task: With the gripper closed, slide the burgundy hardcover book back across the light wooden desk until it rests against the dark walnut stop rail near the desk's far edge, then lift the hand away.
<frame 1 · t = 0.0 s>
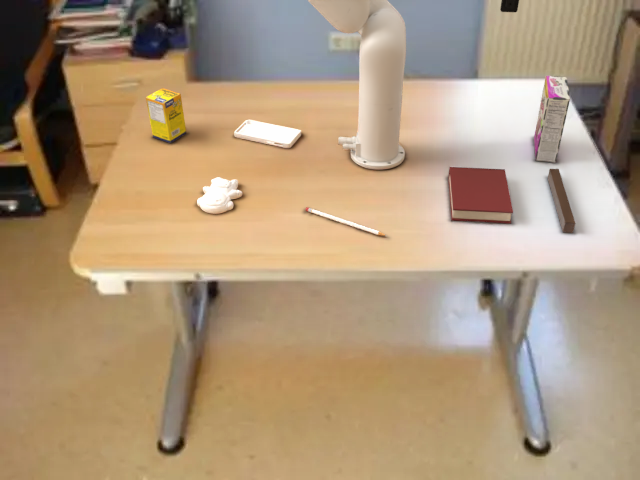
hand: (505, 2, 141), 37 cm above the table, tool pointing down, fingers open, 9 cm apart
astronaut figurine: (220, 198, 152), on the table
phone case: (267, 136, 173), on the table
book: (478, 199, 151), on the table
candy bar box: (543, 151, 167), on the table
pencil: (345, 224, 145), on the table
supplement box: (169, 136, 174), on the table
stop rail: (559, 204, 150), on the table
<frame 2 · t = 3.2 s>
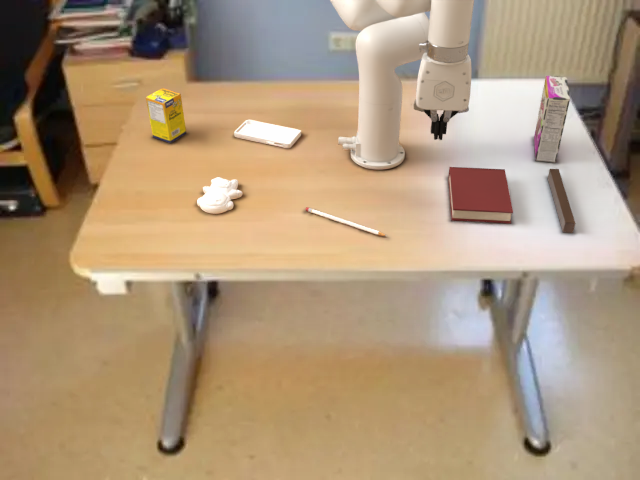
hand: (437, 136, 143), 15 cm above the table, tool pointing down, fingers closed
nothing on the table moved.
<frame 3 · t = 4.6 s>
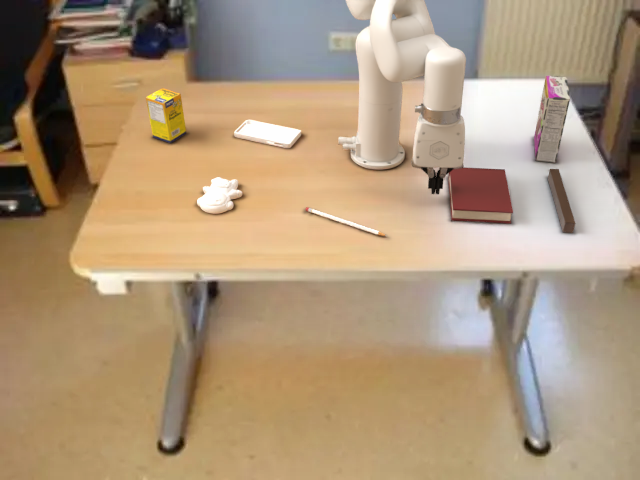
hand: (435, 190, 150), 2 cm above the table, tool pointing down, fingers closed
nothing on the table moved.
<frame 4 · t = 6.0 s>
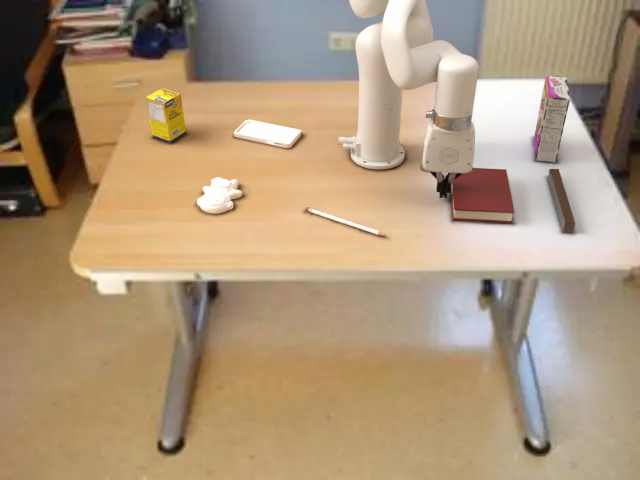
hand: (443, 194, 151), 1 cm above the table, tool pointing down, fingers closed
book: (479, 199, 151), on the table, touching gripper
everything else where it was.
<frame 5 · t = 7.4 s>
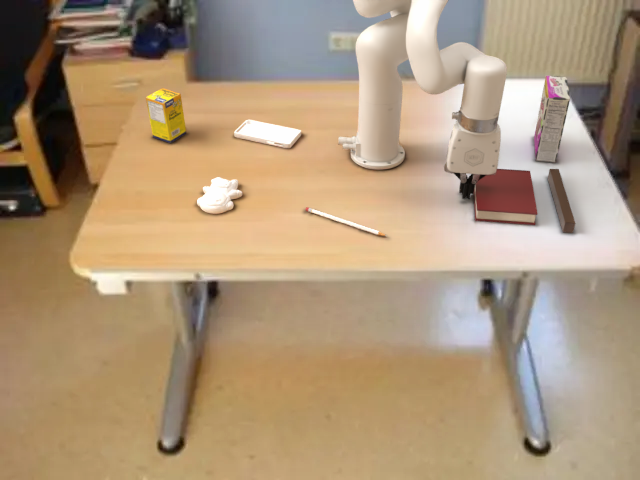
hand: (465, 195, 151), 1 cm above the table, tool pointing down, fingers closed
book: (502, 200, 151), on the table, touching gripper
everything else where it was.
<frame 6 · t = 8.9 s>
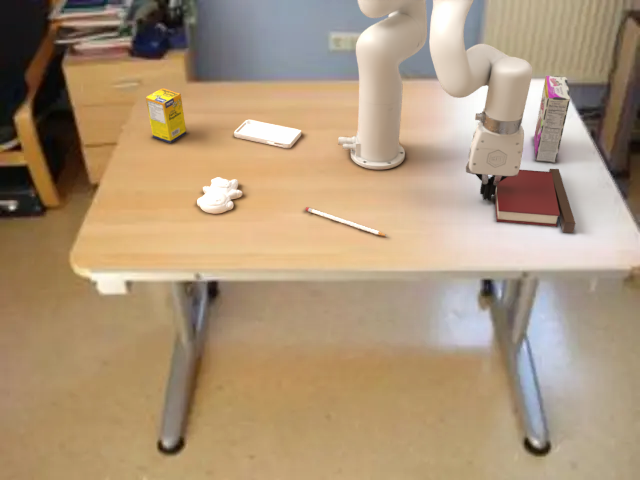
hand: (486, 196, 151), 1 cm above the table, tool pointing down, fingers closed
book: (523, 201, 150), on the table, touching gripper, stop rail
everything else where it was.
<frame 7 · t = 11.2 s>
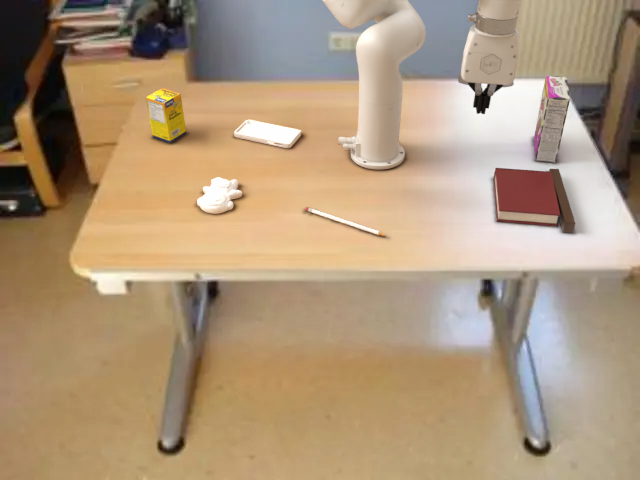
hand: (480, 110, 142), 19 cm above the table, tool pointing down, fingers closed
book: (523, 201, 150), on the table
everything else where it was.
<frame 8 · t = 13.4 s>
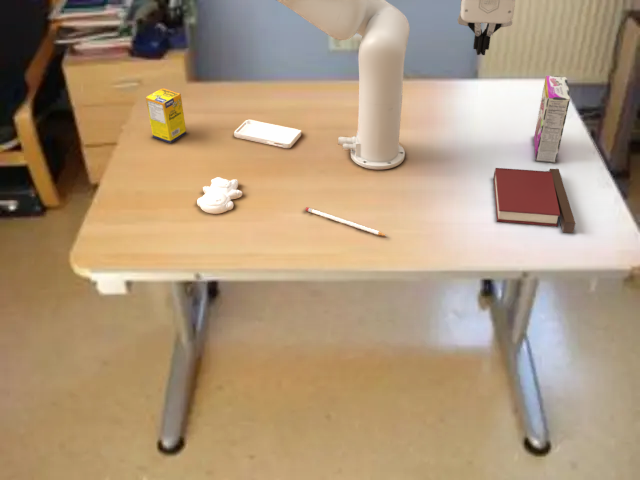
hand: (480, 52, 145), 27 cm above the table, tool pointing down, fingers closed
nothing on the table moved.
at the end: book 0.4 cm from the target spot, on the table; book moved 9.6 cm from its start; book tilted 0° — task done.
